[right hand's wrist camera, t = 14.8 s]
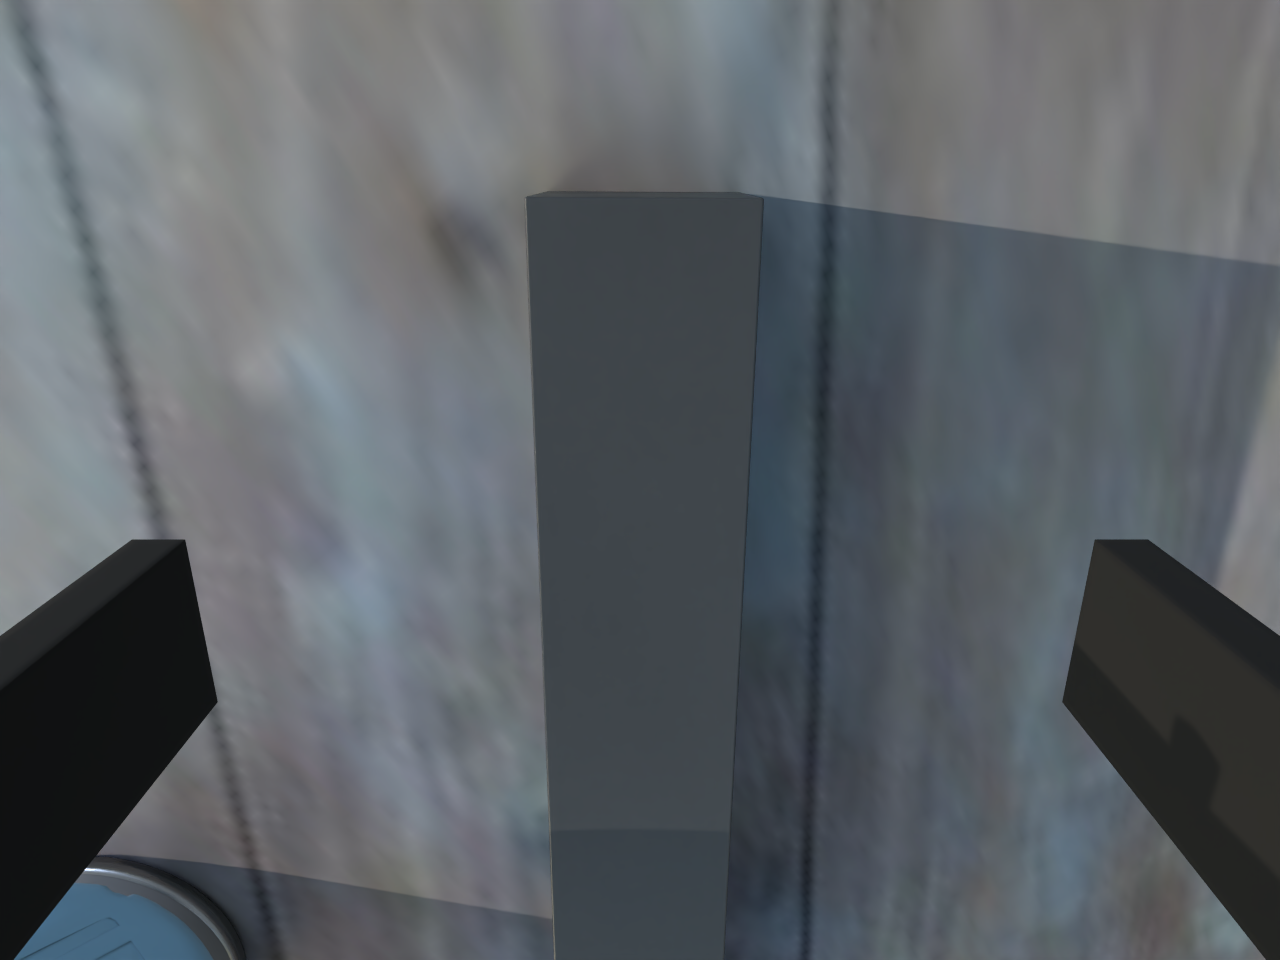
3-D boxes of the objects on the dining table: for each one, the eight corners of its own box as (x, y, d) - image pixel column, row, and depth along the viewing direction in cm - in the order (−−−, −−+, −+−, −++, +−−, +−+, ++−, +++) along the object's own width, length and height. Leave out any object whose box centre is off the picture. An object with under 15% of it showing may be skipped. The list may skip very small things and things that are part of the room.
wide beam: (545, 191, 37) (523, 196, 30) (741, 192, 37) (764, 197, 30) (573, 1080, 56) (563, 1209, 49) (702, 1081, 56) (711, 1210, 49)
